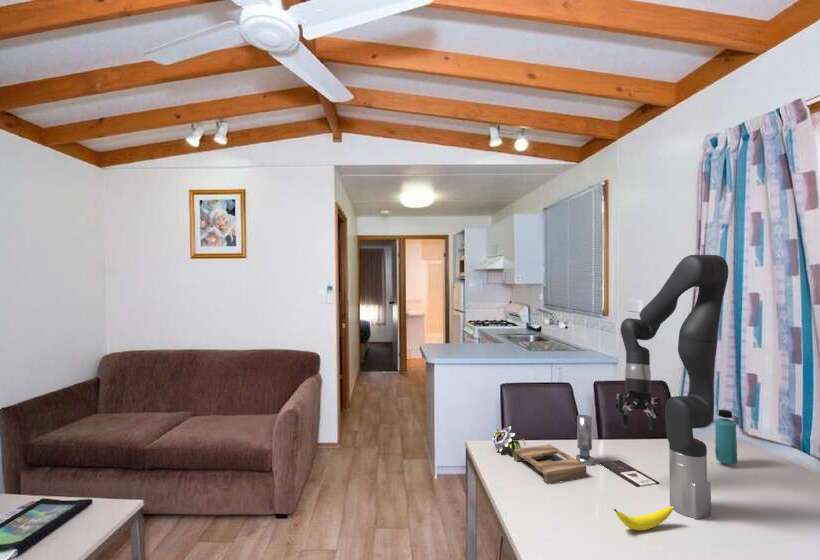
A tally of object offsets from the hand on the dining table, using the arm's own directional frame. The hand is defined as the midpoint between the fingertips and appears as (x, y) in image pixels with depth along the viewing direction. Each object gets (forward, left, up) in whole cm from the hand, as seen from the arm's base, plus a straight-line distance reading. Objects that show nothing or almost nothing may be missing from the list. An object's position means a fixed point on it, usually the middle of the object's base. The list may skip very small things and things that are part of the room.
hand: (638, 428), depth 134 cm
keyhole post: (+21, +3, -19) cm, 29 cm away
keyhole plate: (+21, +19, -19) cm, 34 cm away
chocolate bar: (+9, -5, -20) cm, 22 cm away
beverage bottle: (+3, -45, -19) cm, 49 cm away
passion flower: (+39, +25, -20) cm, 50 cm away
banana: (-18, +18, -19) cm, 32 cm away
